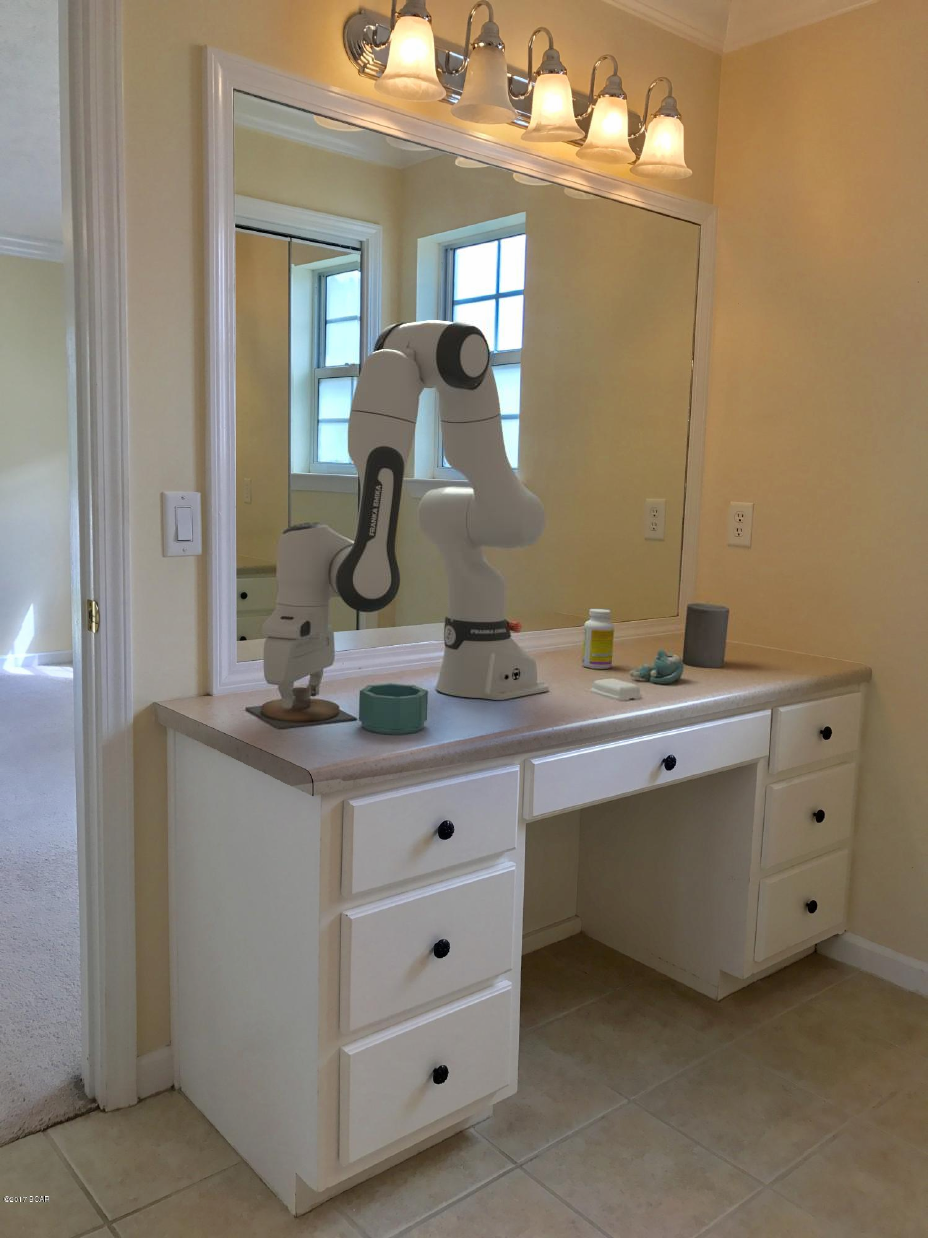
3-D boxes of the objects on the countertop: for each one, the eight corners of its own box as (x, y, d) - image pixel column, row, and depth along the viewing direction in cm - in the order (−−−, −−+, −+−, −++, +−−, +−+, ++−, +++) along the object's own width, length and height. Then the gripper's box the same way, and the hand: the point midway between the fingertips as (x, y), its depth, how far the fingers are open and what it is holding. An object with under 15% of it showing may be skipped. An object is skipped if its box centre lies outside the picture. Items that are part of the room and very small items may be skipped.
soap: (644, 699, 190) (645, 685, 189) (618, 703, 186) (619, 688, 186) (612, 690, 197) (613, 676, 197) (587, 693, 193) (588, 679, 193)
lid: (318, 700, 174) (319, 678, 173) (352, 717, 163) (353, 694, 163) (249, 707, 167) (249, 684, 166) (280, 725, 156) (280, 701, 155)
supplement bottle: (617, 668, 218) (621, 611, 216) (595, 670, 215) (599, 613, 213) (597, 663, 224) (601, 607, 222) (575, 665, 220) (579, 608, 218)
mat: (320, 702, 175) (320, 699, 175) (356, 720, 163) (356, 717, 163) (245, 709, 167) (245, 707, 167) (278, 729, 155) (278, 726, 155)
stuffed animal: (618, 651, 210) (667, 640, 213) (621, 683, 211) (670, 671, 215) (642, 661, 200) (693, 649, 203) (645, 694, 201) (696, 682, 205)
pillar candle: (673, 662, 229) (679, 599, 226) (697, 658, 235) (703, 596, 233) (708, 670, 222) (714, 605, 219) (732, 665, 228) (738, 602, 226)
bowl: (404, 715, 167) (405, 681, 167) (436, 730, 159) (438, 694, 158) (349, 722, 162) (350, 686, 161) (380, 737, 153) (381, 700, 152)
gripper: (311, 611, 173) (309, 687, 175) (256, 626, 154) (255, 712, 156) (344, 614, 172) (342, 690, 174) (293, 630, 152) (291, 716, 154)
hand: (300, 701), depth 165 cm, fingers open, 8 cm apart
